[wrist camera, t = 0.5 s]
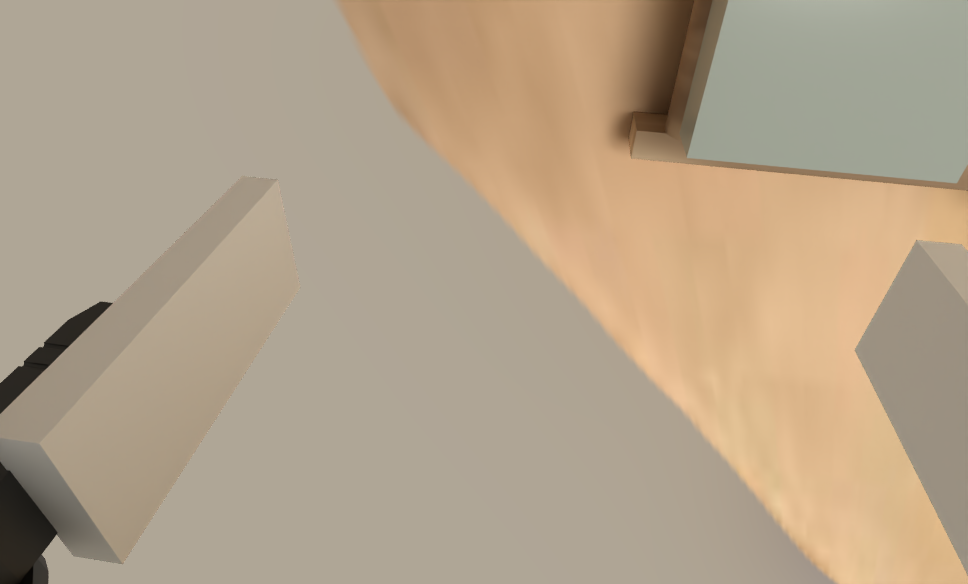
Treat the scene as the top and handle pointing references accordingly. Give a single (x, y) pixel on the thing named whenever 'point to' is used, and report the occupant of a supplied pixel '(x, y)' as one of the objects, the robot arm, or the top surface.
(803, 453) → the top surface
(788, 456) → the top surface
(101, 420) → the robot arm
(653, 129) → the roller bed
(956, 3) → the stone slab
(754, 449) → the top surface
